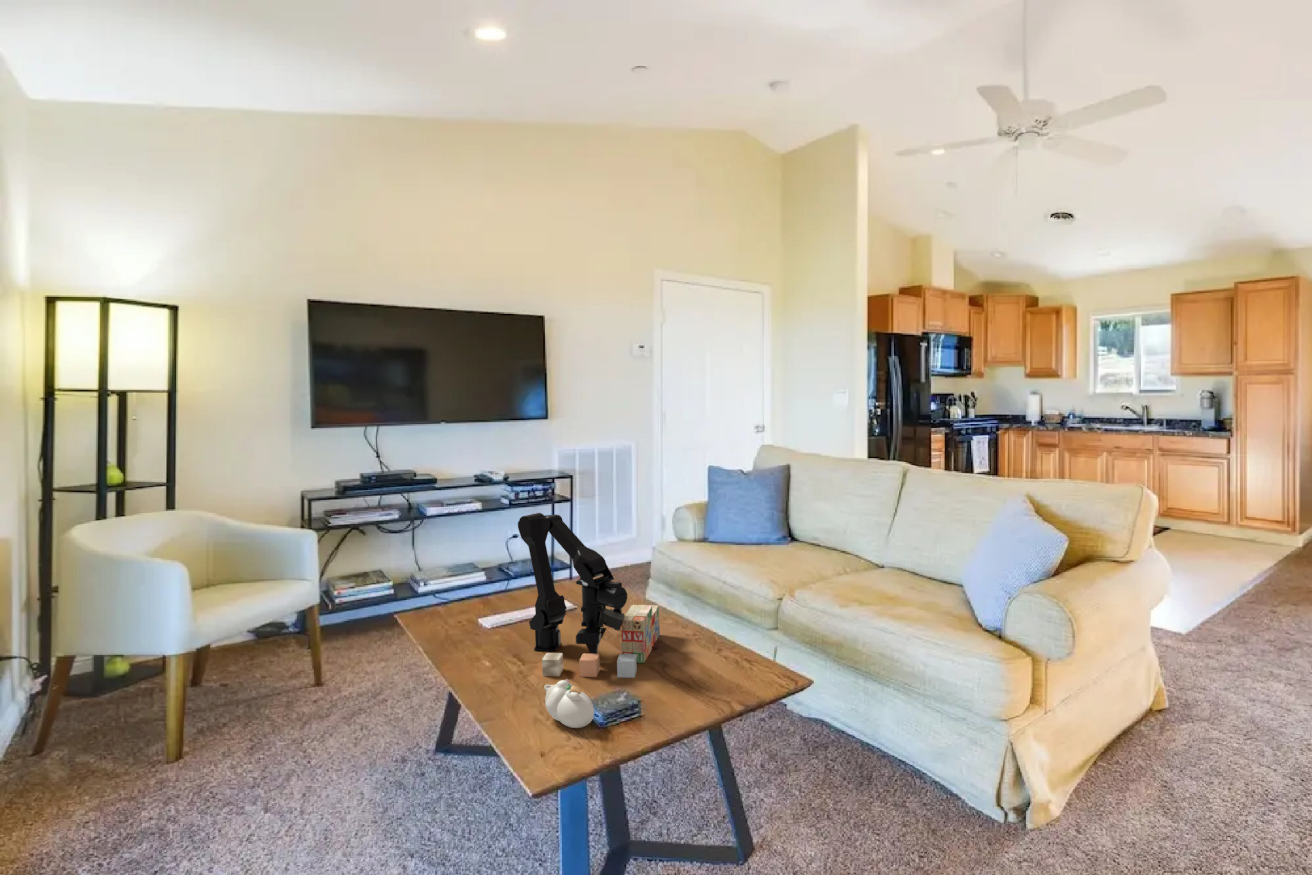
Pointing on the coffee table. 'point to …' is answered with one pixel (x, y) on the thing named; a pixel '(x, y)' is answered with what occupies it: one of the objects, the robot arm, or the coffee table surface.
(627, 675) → the blue grey block
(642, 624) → the stack of blocks
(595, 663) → the terracotta block
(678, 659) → the coffee table surface
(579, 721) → the cat figurine
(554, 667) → the cream block
